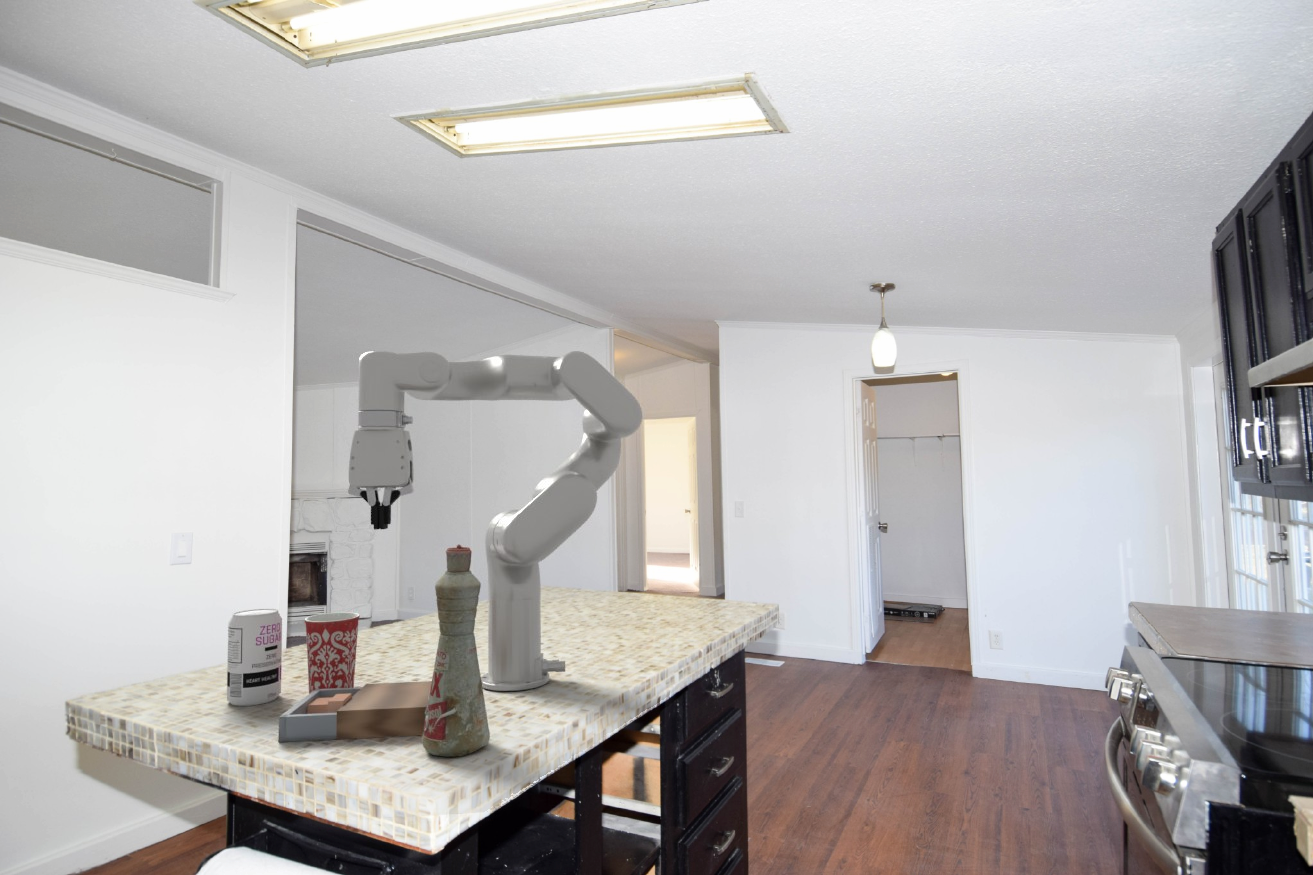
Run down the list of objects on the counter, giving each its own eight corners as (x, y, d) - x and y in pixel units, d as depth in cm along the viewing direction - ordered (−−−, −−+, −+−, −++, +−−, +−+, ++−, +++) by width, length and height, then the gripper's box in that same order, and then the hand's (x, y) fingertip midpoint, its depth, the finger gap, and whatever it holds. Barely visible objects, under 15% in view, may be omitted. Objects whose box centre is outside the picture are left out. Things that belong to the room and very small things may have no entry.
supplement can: (240, 694, 133) (241, 608, 134) (288, 692, 134) (289, 607, 134) (217, 707, 125) (219, 616, 126) (268, 705, 125) (270, 615, 126)
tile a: (351, 693, 115) (336, 694, 115) (343, 700, 111) (327, 701, 111) (351, 719, 115) (336, 720, 115) (343, 728, 111) (327, 728, 111)
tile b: (317, 697, 120) (316, 711, 119) (307, 705, 116) (307, 719, 115) (342, 696, 120) (342, 710, 120) (334, 704, 116) (333, 718, 116)
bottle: (485, 758, 99) (484, 545, 101) (415, 761, 99) (416, 547, 100) (494, 736, 108) (493, 541, 110) (429, 739, 107) (430, 542, 109)
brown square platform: (447, 705, 124) (447, 680, 124) (428, 734, 109) (428, 706, 110) (366, 708, 123) (366, 683, 123) (336, 739, 108) (336, 710, 108)
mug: (354, 698, 129) (355, 619, 130) (297, 702, 127) (298, 622, 128) (366, 680, 141) (367, 607, 142) (315, 683, 140) (316, 610, 140)
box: (366, 708, 123) (366, 686, 123) (336, 739, 108) (336, 714, 108) (315, 710, 122) (315, 689, 122) (278, 742, 107) (278, 717, 107)
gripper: (429, 424, 135) (429, 526, 134) (343, 425, 133) (342, 528, 132) (421, 420, 127) (420, 529, 126) (329, 421, 126) (328, 531, 125)
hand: (380, 528), depth 129 cm, fingers closed
